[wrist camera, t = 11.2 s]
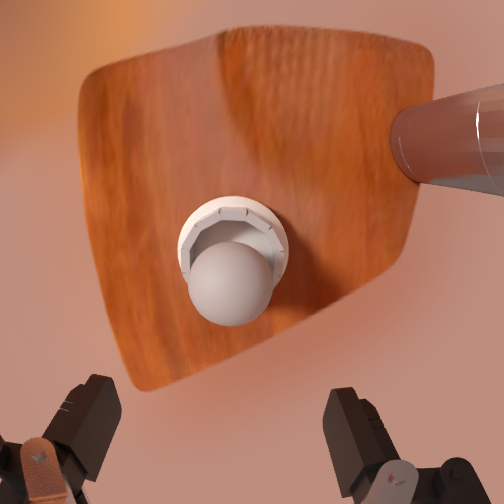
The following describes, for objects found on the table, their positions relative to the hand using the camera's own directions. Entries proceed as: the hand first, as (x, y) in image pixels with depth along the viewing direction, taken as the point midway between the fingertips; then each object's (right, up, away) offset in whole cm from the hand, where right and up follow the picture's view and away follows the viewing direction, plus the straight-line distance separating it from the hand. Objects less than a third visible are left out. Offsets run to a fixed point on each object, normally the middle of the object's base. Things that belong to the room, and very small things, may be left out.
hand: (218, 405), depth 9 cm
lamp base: (-1, +6, +21) cm, 22 cm away
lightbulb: (-1, +5, +19) cm, 20 cm away
